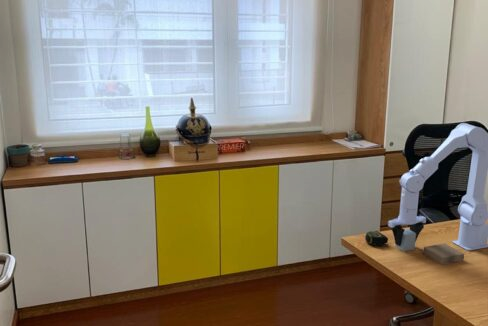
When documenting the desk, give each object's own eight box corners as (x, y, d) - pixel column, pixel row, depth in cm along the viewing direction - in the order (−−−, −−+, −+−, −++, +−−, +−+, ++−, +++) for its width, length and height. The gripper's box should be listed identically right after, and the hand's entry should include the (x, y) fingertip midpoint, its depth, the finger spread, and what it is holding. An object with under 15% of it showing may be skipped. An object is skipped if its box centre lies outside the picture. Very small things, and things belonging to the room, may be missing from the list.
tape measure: (388, 246, 175) (389, 236, 174) (371, 248, 173) (372, 238, 172) (377, 238, 181) (378, 229, 180) (361, 240, 179) (362, 231, 178)
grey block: (405, 244, 176) (407, 228, 175) (414, 249, 172) (416, 233, 171) (395, 246, 175) (396, 230, 173) (403, 251, 170) (405, 235, 169)
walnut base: (443, 251, 171) (444, 243, 171) (463, 262, 163) (464, 253, 163) (422, 255, 168) (423, 246, 168) (441, 266, 160) (442, 257, 159)
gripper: (418, 201, 176) (414, 236, 179) (384, 205, 171) (381, 242, 174) (431, 207, 169) (427, 244, 173) (396, 212, 164) (393, 249, 168)
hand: (405, 243), depth 173 cm, fingers open, 6 cm apart
